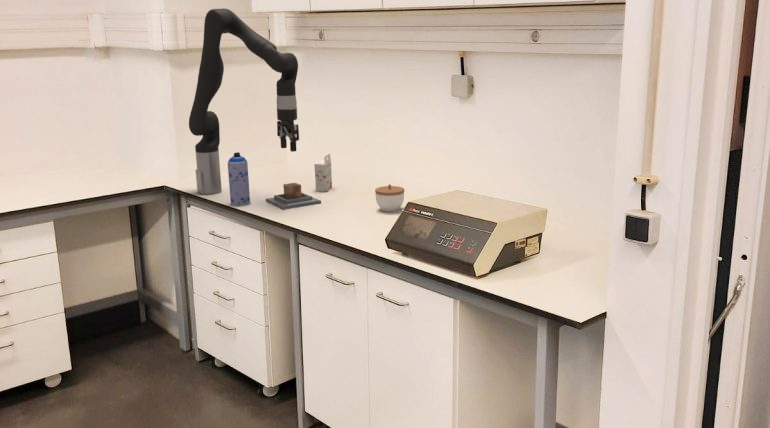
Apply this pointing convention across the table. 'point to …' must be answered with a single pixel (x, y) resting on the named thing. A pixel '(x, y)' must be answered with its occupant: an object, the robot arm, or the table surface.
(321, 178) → the ink cartridge box
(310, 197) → the holder
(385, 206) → the lidded jar
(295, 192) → the block
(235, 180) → the aerosol can
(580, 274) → the table surface
